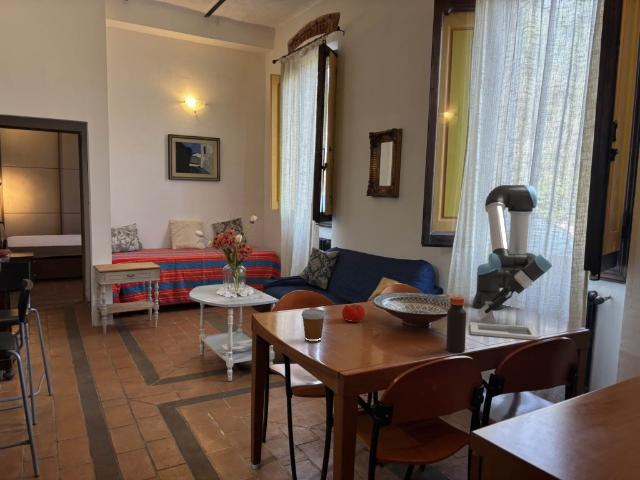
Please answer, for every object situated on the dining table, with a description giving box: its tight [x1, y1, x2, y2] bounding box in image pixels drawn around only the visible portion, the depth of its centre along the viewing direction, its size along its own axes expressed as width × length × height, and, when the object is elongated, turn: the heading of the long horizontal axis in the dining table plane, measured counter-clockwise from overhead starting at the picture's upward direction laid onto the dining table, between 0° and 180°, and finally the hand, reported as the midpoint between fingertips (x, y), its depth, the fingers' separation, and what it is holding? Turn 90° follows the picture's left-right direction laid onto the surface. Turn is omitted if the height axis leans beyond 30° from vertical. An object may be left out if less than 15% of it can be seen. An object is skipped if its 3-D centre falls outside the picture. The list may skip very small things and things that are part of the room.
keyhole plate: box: [469, 321, 540, 341], centre depth 198 cm, size 16×26×2 cm, turn 74°
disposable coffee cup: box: [301, 308, 326, 344], centre depth 184 cm, size 10×10×12 cm
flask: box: [479, 301, 497, 324], centre depth 213 cm, size 7×7×10 cm
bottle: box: [445, 296, 467, 354], centre depth 173 cm, size 7×7×20 cm
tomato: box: [341, 303, 366, 323], centre depth 215 cm, size 11×11×8 cm
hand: (479, 315), depth 214 cm, fingers closed on flask, 4 cm apart
